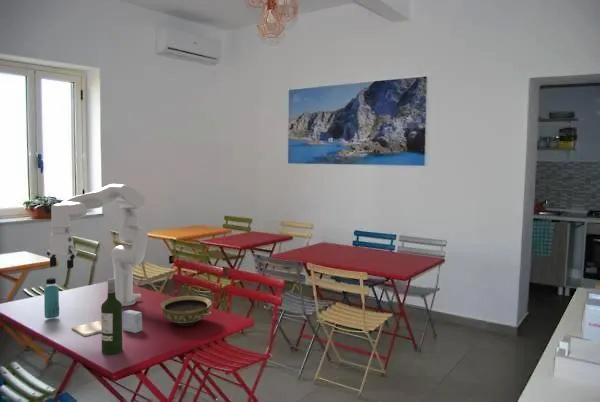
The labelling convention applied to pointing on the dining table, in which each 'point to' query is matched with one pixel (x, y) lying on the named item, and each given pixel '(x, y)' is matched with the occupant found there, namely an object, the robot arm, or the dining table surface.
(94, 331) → the birch board
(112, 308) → the wine bottle
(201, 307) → the ceramic bowl
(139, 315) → the medicine box
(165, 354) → the dining table surface
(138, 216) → the robot arm
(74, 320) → the dining table surface
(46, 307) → the beverage bottle
